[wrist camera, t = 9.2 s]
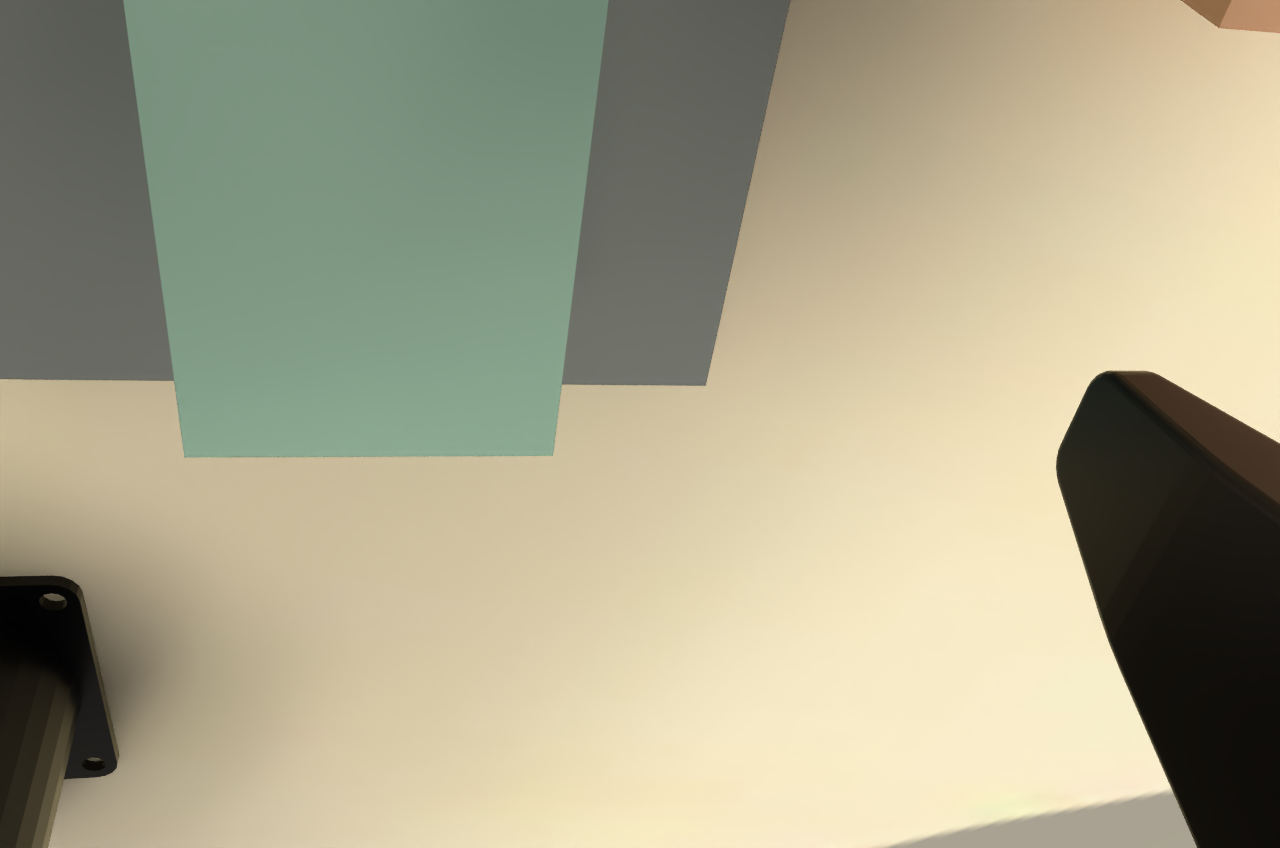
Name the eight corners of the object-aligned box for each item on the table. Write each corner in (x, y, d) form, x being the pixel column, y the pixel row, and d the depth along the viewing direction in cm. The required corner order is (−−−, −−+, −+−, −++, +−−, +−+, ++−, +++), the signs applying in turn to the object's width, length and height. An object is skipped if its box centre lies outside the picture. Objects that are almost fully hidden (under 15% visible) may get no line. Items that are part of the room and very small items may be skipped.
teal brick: (523, 278, 20) (553, 455, 16) (219, 269, 19) (184, 457, 15) (587, -423, 14) (653, -369, 10) (146, -491, 13) (63, -456, 9)
